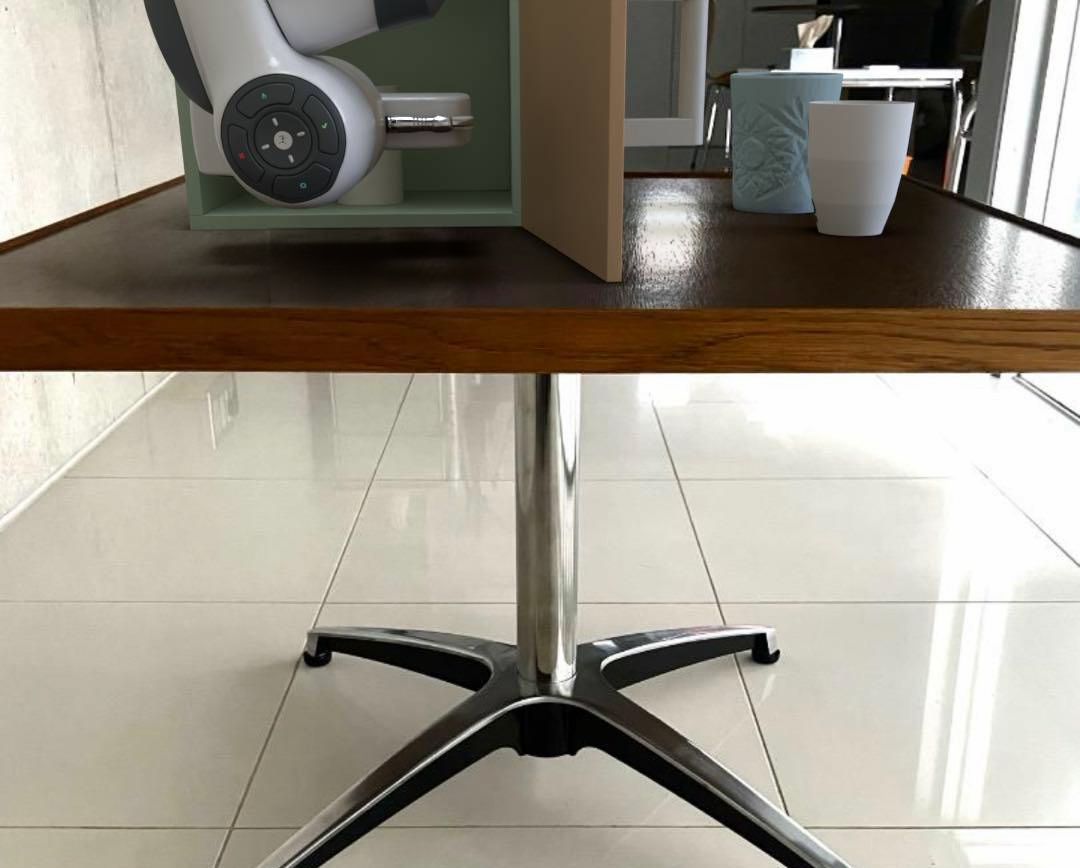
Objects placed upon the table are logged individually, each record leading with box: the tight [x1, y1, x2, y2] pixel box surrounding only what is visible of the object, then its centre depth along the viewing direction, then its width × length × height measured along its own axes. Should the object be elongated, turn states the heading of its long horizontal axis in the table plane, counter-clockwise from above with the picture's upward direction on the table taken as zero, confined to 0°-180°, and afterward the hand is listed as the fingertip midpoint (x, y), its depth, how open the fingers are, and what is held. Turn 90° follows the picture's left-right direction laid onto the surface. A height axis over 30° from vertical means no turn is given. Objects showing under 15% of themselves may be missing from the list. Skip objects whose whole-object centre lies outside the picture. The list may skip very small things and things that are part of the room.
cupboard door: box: [519, 0, 710, 283], centre depth 86 cm, size 7×28×26 cm, turn 12°
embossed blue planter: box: [729, 71, 844, 214], centre depth 113 cm, size 10×10×12 cm
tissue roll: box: [338, 85, 404, 206], centre depth 110 cm, size 6×6×10 cm
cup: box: [808, 100, 916, 237], centre depth 98 cm, size 8×8×10 cm
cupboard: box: [173, 0, 522, 231], centre depth 108 cm, size 20×28×26 cm
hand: (344, 116), depth 96 cm, fingers open, 8 cm apart
